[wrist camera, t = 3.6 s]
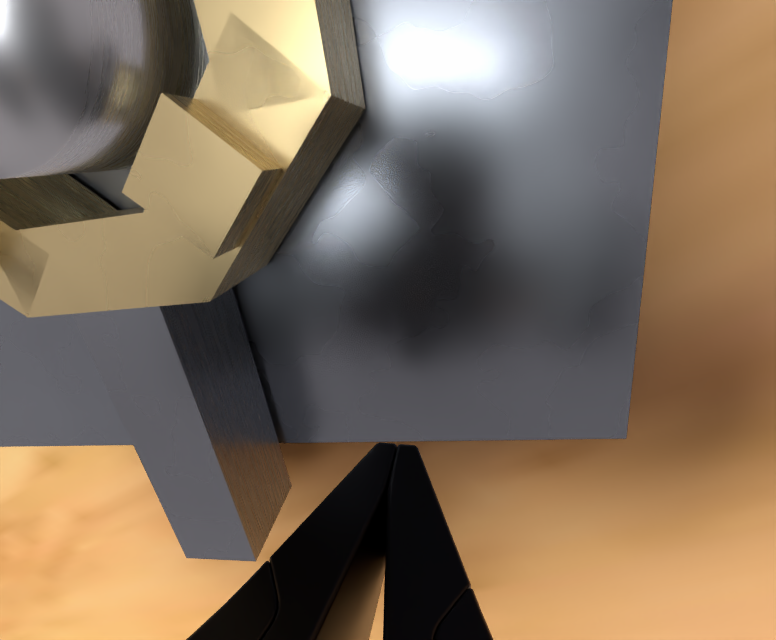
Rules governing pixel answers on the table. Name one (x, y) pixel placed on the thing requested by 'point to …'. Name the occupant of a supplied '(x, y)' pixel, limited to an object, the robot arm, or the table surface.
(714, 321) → the table surface
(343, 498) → the robot arm
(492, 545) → the table surface
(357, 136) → the cap plate
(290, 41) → the ring nut
